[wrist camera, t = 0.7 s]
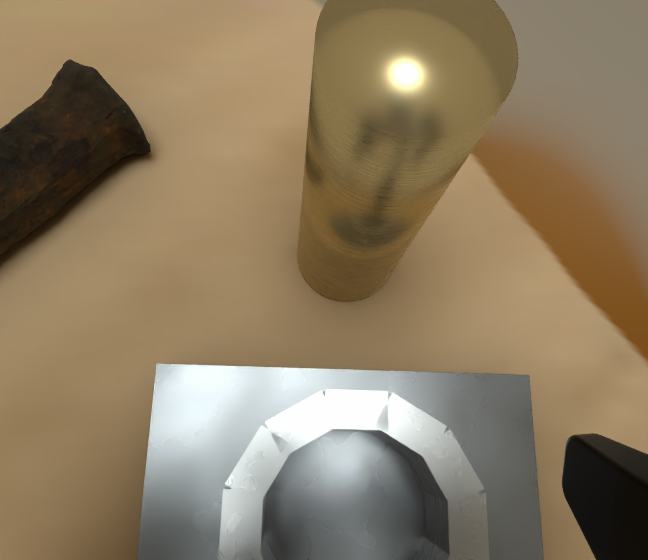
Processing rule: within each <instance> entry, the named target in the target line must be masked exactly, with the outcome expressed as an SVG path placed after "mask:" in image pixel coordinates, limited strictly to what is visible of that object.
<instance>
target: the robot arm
mask: <svg viewBox="0 0 648 560" xmlns="http://www.w3.org/2000/svg"><path fill="white" fill-rule="evenodd" d="M562 488H563V492H564V496H565V498H566V500H567V502H568V504H569V506H570V508H571V510H572V512H573V514H574V516H575V518H576V520H577V522H578V524H579V526H580V528H581V530H582V532H583V534H584V536H585V538H586V540H587V542H588V544H589V546H590V548H591V550H592V552H593V554H594V556H595V558H596V560H648V454H646V453H643V452H641V451H638V450H636V449H633V448H631V447H628V446H626V445H623V444H621V443H619V442H616V441H614V440H611V439H609V438H606V437H604V436H601V435H599V434H581V435H572V436H571V437H570V438H569V439H568V440H567V443H566V449H565V458H564V467H563V476H562Z"/></svg>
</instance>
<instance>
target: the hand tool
mask: <svg viewBox="0 0 648 560" xmlns="http://www.w3.org/2000/svg"><path fill="white" fill-rule="evenodd" d="M149 152H151V150H150V144H149V143H148V141H147V139H146V137H145V134H144V131H143V129H142V128H141V126H140V124H139V122H138V120H137V119H136V117H135V115H134V113H133V112H132V111H131V109H130V108H129V106H128V105H127V103H126V102H125V101H124V100H123V99H122V98H121V97H120V96H119V95H118V94H117V93H116V92H115V91H114V90H113V89H112V87H111V86H110V85H109V84H108V83H107V82H106V81H105V80H104V78H103V77H102V76H101V75H100V74H99V72H98V71H97V70H96V69H94V68H92V67H88V66H83V65H81V64H79V63H76V62H74V61H72V60H68V61H66V62H65V63H64V64H63V67H62V68H61V70H60V71H59V72H58V73H57V74H56V76H55V78H54V79H53V81H52V85H51V86H50V87H49V89H48V90H47V91H46V93H45V94H44V95H43V97H42V98H40V99H39V100H38V101H36V102H35V103H34V104H32V105H31V106H30V107H28V108H26V109H25V110H24V111H23V112H21V113H20V114H19V115H17V116H16V117H15V118H13V119H12V120H11V122H10V123H8V124H7V125H5V126H4V127H3V128H1V129H0V255H2V254H3V253H4V252H6V251H7V250H8V249H9V248H10V247H12V246H13V245H14V244H16V243H17V242H18V241H20V240H21V239H22V238H24V237H25V236H27V235H28V234H29V233H31V232H33V231H34V230H35V229H36V228H38V227H39V226H40V225H41V224H42V223H43V222H44V221H46V220H48V219H49V218H51V217H52V216H54V215H56V214H57V213H58V212H59V211H60V209H61V208H62V207H63V205H64V204H65V203H66V202H68V201H69V200H70V199H71V198H73V197H74V196H75V195H76V194H77V193H79V192H80V191H82V190H83V189H84V188H85V187H86V186H87V185H88V184H89V183H91V182H92V181H93V180H94V179H95V178H96V177H97V176H99V175H100V174H101V173H102V172H103V171H105V170H106V169H107V168H108V167H109V166H111V165H112V164H114V163H115V162H117V161H118V160H119V159H121V158H123V157H125V156H128V155H130V154H134V153H136V154H141V155H146V154H148V153H149Z"/></svg>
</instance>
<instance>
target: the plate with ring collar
mask: <svg viewBox="0 0 648 560" xmlns="http://www.w3.org/2000/svg"><path fill="white" fill-rule="evenodd" d="M136 560H544V557H543V544H542V532H541V519H540V506H539V494H538V481H537V468H536V456H535V443H534V430H533V417H532V405H531V392H530V379H529V375H510V374H477V373H444V372H411V371H378V370H345V369H312V368H279V367H246V366H213V365H180V364H157V365H156V375H155V385H154V394H153V404H152V413H151V423H150V433H149V442H148V452H147V462H146V471H145V481H144V491H143V500H142V510H141V519H140V529H139V539H138V548H137V558H136Z"/></svg>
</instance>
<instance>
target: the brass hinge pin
mask: <svg viewBox="0 0 648 560" xmlns="http://www.w3.org/2000/svg"><path fill="white" fill-rule="evenodd" d="M517 68H518V49H517V43H516V39H515V35H514V32H513V30H512V27H511V25H510V22H509V21H508V19H507V17H506V15H505V14H504V12H503V11H502V9H501V8H500V7H499V6H498V4H497V3H496V2H495V1H494V0H327V2H326V3H325V5H324V7H323V9H322V11H321V13H320V16H319V19H318V22H317V27H316V33H315V44H314V56H313V68H312V81H311V93H310V105H309V117H308V130H307V142H306V154H305V166H304V179H303V191H302V203H301V216H300V228H299V240H298V264H299V268H300V271H301V273H302V275H303V277H304V279H305V280H306V282H307V283H308V284H309V285H310V286H311V287H312V288H313V289H314V290H315V291H316V292H318V293H319V294H321V295H322V296H324V297H327V298H329V299H332V300H336V301H342V302H351V301H357V300H361V299H364V298H366V297H368V296H370V295H372V294H373V293H375V292H376V291H377V290H378V289H379V288H380V287H381V286H382V285H383V284H384V283H385V281H386V280H387V278H388V277H389V275H390V274H391V272H392V271H393V269H394V268H395V266H396V265H397V263H398V262H399V260H400V259H401V257H402V256H403V254H404V253H405V251H406V249H407V248H408V246H409V245H410V243H411V242H412V240H413V239H414V237H415V236H416V234H417V233H418V231H419V230H420V228H421V227H422V225H423V224H424V222H425V221H426V219H427V218H428V216H429V215H430V213H431V212H432V210H433V209H434V207H435V206H436V204H437V203H438V201H439V200H440V198H441V197H442V195H443V194H444V192H445V191H446V189H447V188H448V186H449V184H450V183H451V181H452V180H453V178H454V177H455V175H456V174H457V172H458V171H459V169H460V168H461V166H462V165H463V163H464V162H465V160H466V159H467V157H468V156H469V154H470V153H471V151H472V150H473V148H474V147H475V145H476V144H477V142H478V140H479V139H480V138H481V136H482V135H483V133H484V132H485V130H486V129H487V127H488V125H489V124H490V122H491V121H492V119H493V118H494V116H495V115H496V113H497V112H498V110H499V109H500V107H501V106H502V104H503V103H504V101H505V100H506V98H507V96H508V95H509V93H510V91H511V89H512V87H513V84H514V81H515V79H516V74H517Z"/></svg>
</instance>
